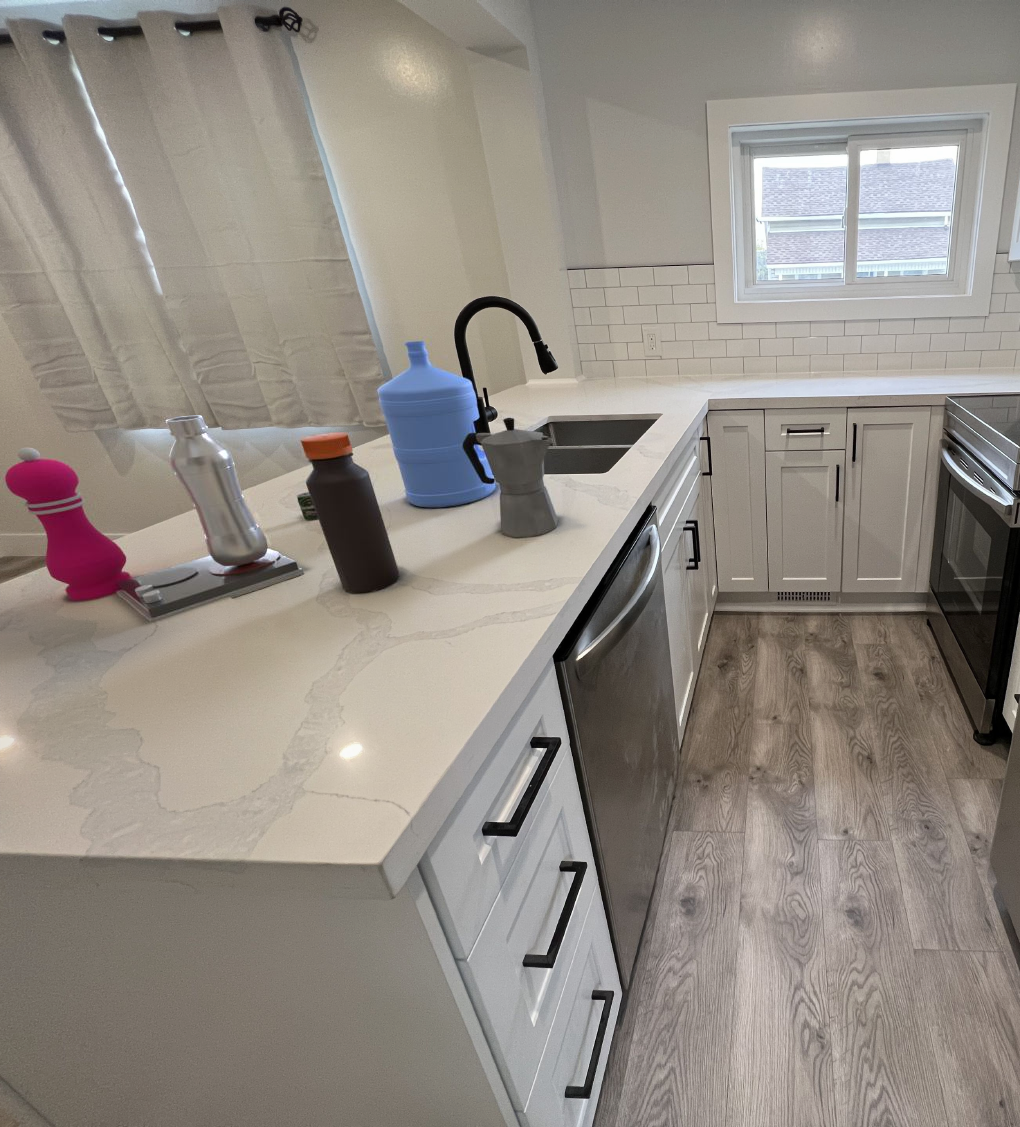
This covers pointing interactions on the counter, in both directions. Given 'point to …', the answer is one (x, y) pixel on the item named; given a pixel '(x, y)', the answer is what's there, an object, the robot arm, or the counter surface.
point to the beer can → (307, 506)
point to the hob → (202, 583)
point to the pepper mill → (67, 527)
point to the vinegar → (349, 514)
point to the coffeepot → (516, 478)
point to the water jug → (433, 433)
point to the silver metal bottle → (215, 493)
